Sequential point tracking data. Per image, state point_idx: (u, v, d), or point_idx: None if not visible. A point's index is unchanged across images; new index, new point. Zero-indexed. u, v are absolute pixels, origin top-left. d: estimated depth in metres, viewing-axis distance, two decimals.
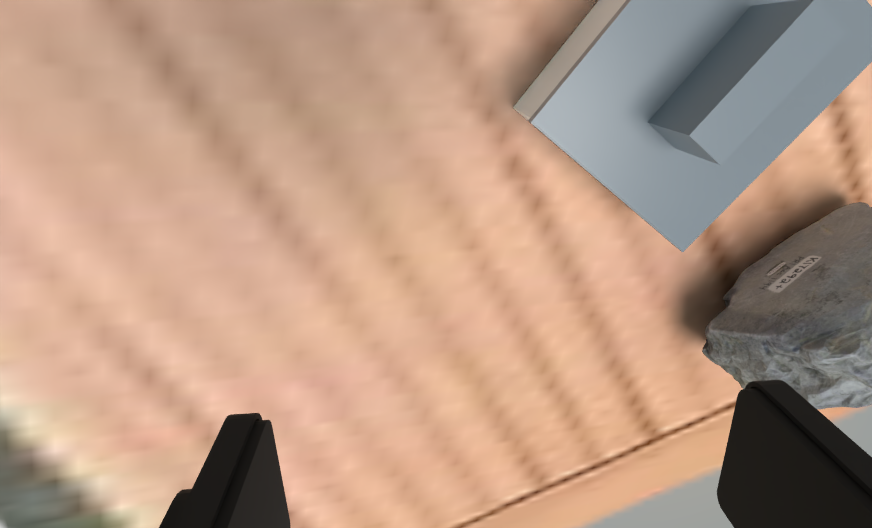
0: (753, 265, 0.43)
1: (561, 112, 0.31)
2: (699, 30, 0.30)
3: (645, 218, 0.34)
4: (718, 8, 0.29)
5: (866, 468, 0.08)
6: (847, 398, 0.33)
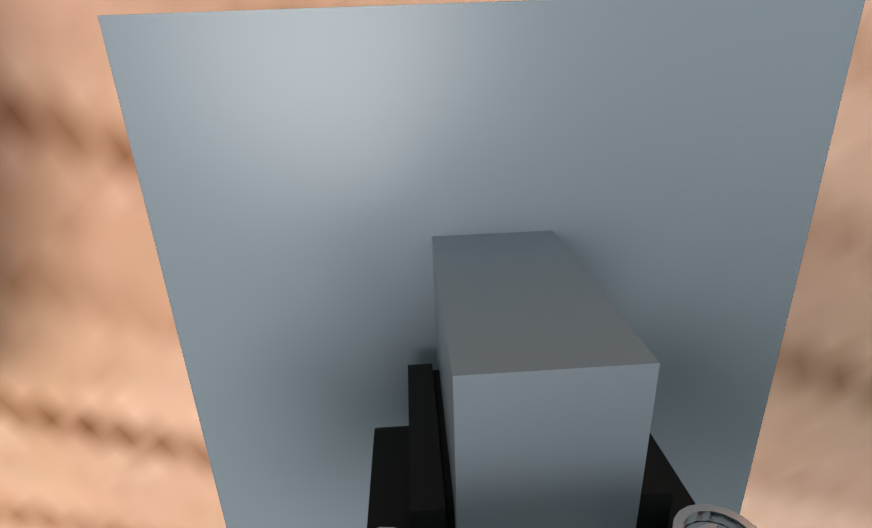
0: None
1: (792, 81, 0.10)
2: None
3: (318, 13, 0.09)
4: None
5: None
6: None
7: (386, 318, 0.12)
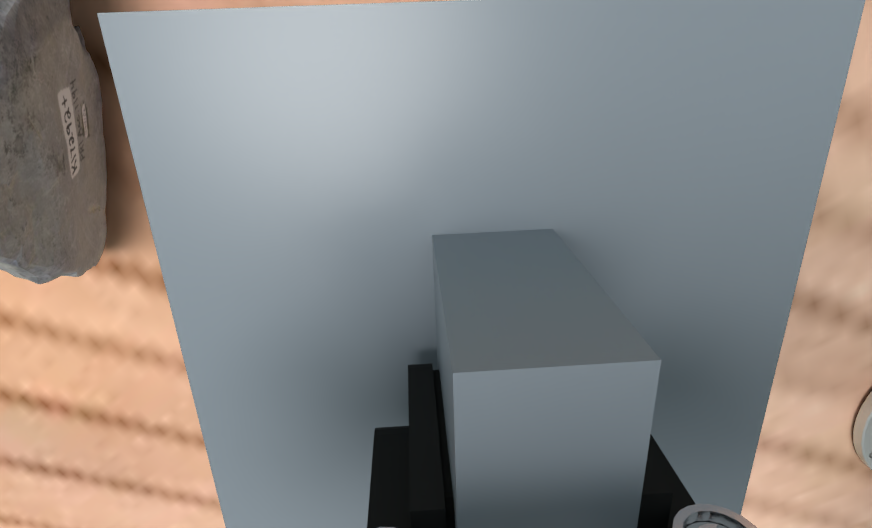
0: (100, 102, 0.27)
1: (793, 79, 0.10)
2: None
3: (318, 11, 0.09)
4: None
5: None
6: None
7: (386, 317, 0.12)
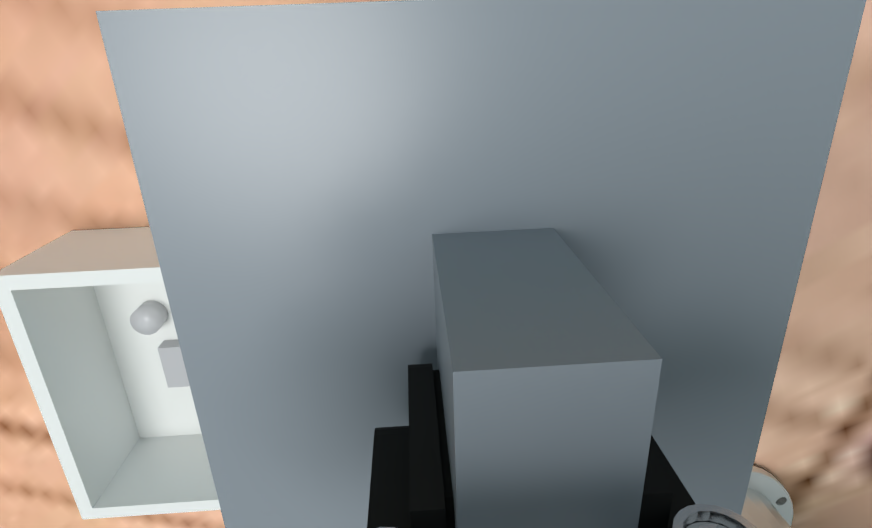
0: None
1: (794, 77, 0.10)
2: None
3: (317, 9, 0.09)
4: None
5: None
6: None
7: (386, 316, 0.11)
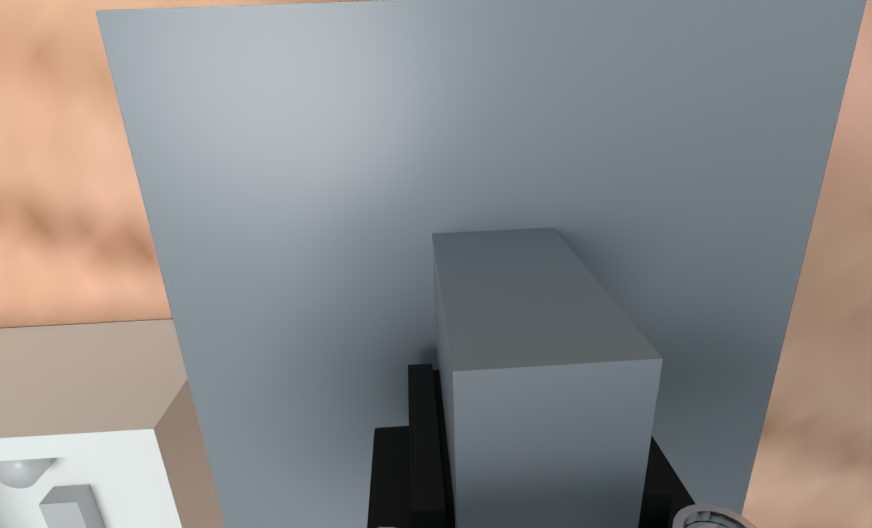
0: None
1: (794, 77, 0.10)
2: None
3: (317, 8, 0.09)
4: None
5: None
6: None
7: (386, 316, 0.11)
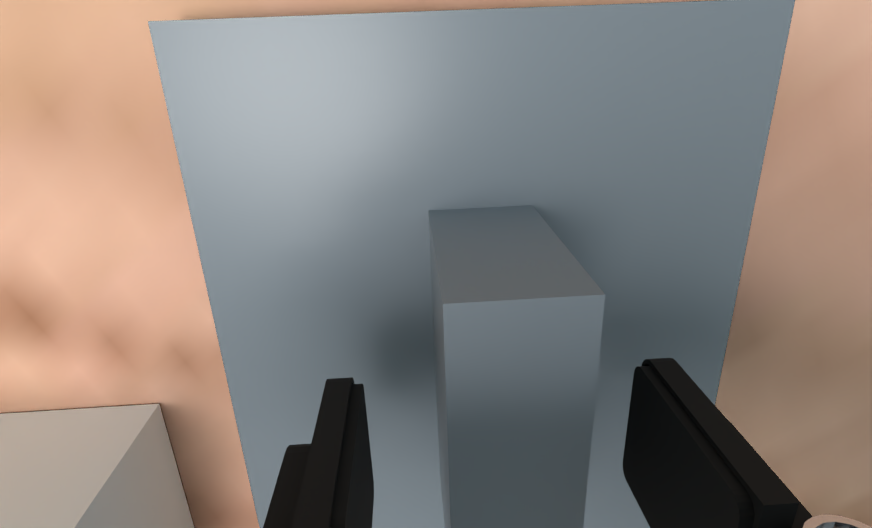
0: None
1: (734, 76, 0.12)
2: None
3: (332, 19, 0.11)
4: None
5: (722, 432, 0.09)
6: None
7: (389, 282, 0.13)
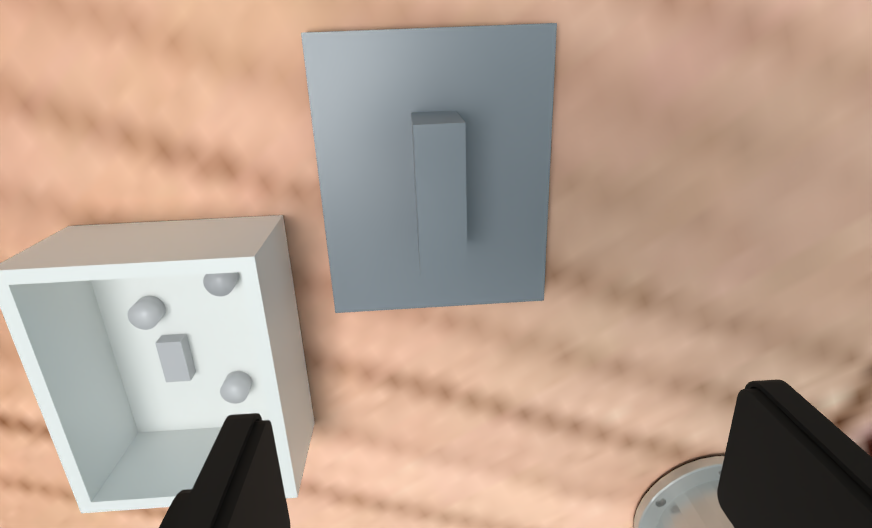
0: None
1: (536, 54, 0.29)
2: (479, 200, 0.32)
3: (372, 31, 0.28)
4: (480, 223, 0.33)
5: (866, 468, 0.08)
6: None
7: (394, 146, 0.30)
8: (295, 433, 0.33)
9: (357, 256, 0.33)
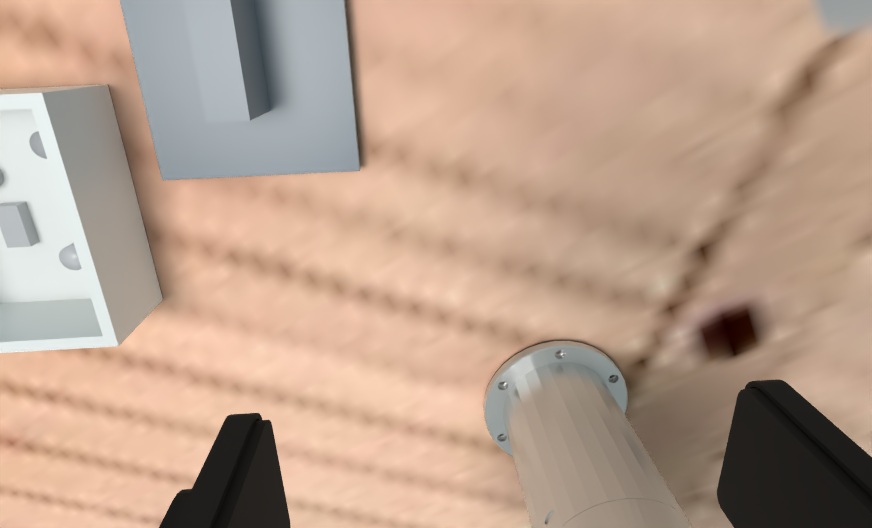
0: None
1: None
2: (284, 67, 0.34)
3: None
4: (288, 90, 0.35)
5: (866, 468, 0.08)
6: None
7: None
8: (118, 288, 0.36)
9: (176, 122, 0.35)
